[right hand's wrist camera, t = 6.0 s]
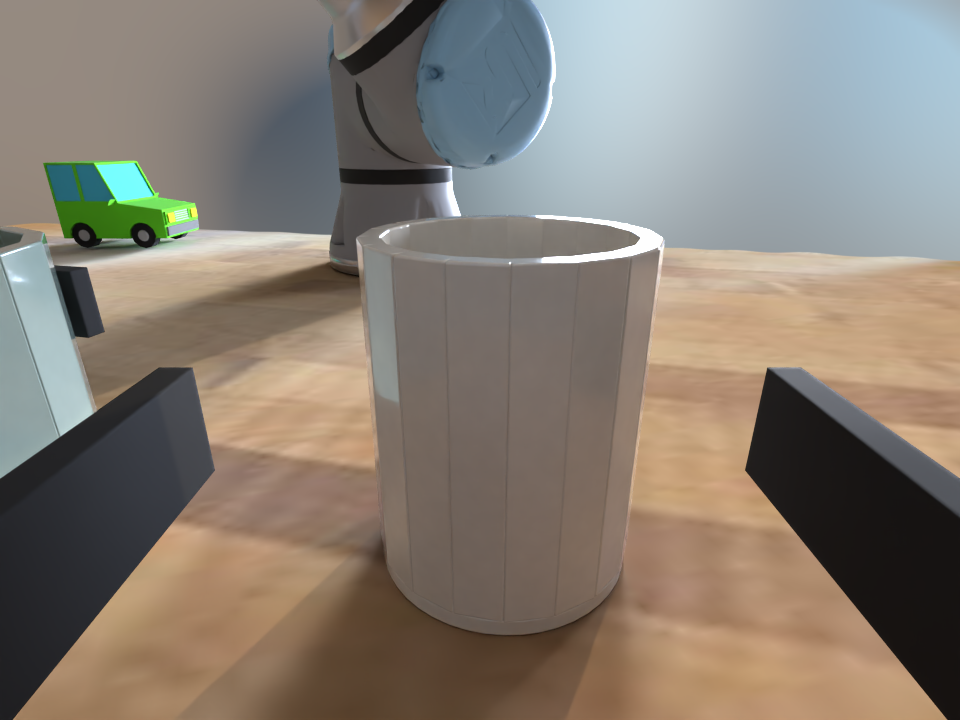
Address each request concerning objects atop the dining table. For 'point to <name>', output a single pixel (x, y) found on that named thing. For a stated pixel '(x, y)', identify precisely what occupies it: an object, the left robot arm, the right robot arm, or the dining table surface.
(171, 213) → the toy car
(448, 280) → the cup
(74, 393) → the pot
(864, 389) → the dining table surface
